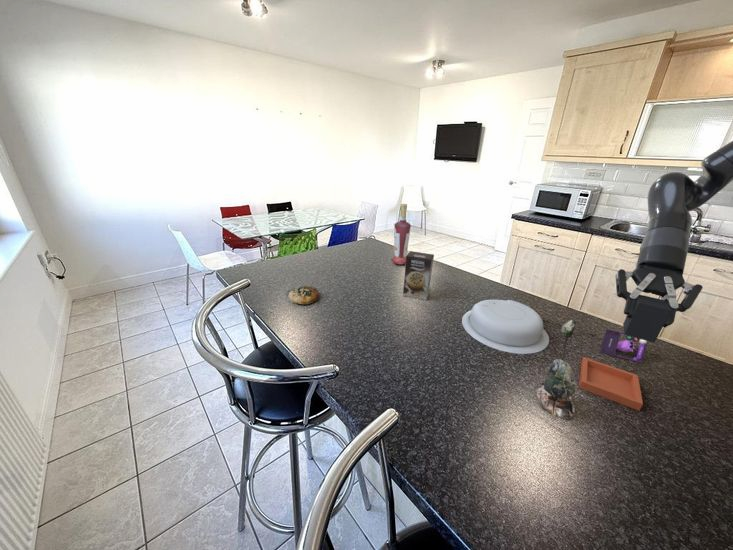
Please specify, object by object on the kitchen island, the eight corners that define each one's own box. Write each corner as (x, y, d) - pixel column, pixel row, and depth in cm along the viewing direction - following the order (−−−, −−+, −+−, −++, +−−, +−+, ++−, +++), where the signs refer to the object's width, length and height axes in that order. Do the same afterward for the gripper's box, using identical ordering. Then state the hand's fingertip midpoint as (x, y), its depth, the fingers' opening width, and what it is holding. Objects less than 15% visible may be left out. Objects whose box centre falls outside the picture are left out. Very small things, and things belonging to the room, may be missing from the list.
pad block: (651, 332, 65) (667, 300, 62) (654, 343, 62) (671, 310, 58) (622, 324, 68) (636, 293, 65) (624, 334, 64) (639, 302, 61)
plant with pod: (523, 406, 64) (547, 330, 56) (542, 381, 71) (567, 310, 63) (564, 431, 59) (599, 351, 50) (581, 402, 66) (614, 326, 57)
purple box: (607, 329, 80) (650, 339, 76) (602, 326, 85) (642, 335, 81) (600, 352, 81) (642, 363, 77) (596, 348, 86) (635, 358, 82)
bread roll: (321, 290, 112) (320, 279, 109) (316, 309, 102) (315, 297, 100) (293, 290, 112) (291, 279, 109) (285, 309, 103) (282, 297, 100)
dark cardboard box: (402, 296, 110) (405, 255, 103) (406, 289, 115) (409, 250, 109) (426, 300, 107) (431, 259, 100) (429, 293, 112) (434, 253, 106)
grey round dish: (492, 359, 78) (497, 340, 76) (447, 311, 100) (450, 295, 98) (569, 347, 83) (576, 329, 81) (511, 304, 106) (515, 289, 103)
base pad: (634, 381, 72) (637, 374, 71) (639, 411, 64) (643, 404, 63) (580, 362, 78) (583, 356, 77) (579, 387, 69) (581, 381, 69)
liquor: (408, 266, 137) (413, 206, 125) (392, 266, 137) (396, 205, 125) (406, 260, 144) (411, 202, 132) (391, 260, 143) (394, 202, 132)
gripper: (627, 237, 66) (609, 304, 62) (718, 251, 59) (704, 328, 55) (617, 253, 73) (600, 315, 69) (698, 267, 65) (685, 338, 61)
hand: (646, 320), depth 62 cm, fingers closed on pad block, 5 cm apart
